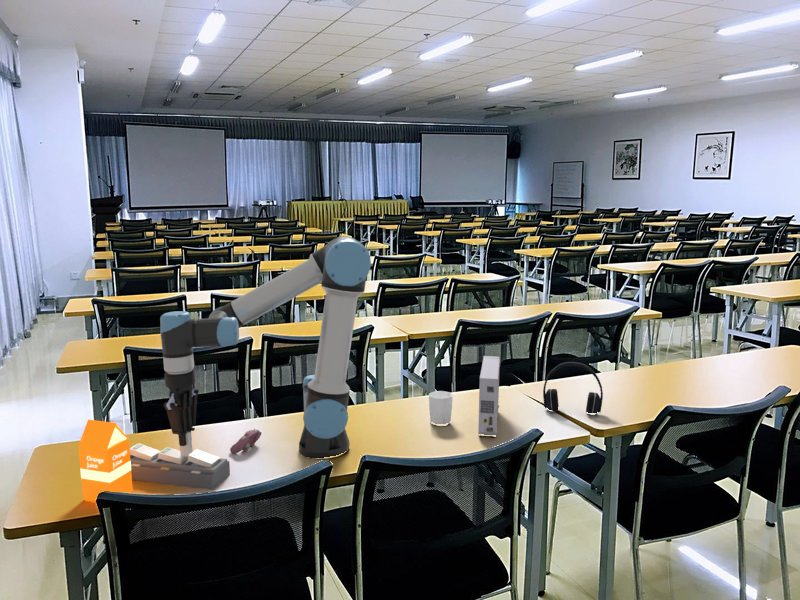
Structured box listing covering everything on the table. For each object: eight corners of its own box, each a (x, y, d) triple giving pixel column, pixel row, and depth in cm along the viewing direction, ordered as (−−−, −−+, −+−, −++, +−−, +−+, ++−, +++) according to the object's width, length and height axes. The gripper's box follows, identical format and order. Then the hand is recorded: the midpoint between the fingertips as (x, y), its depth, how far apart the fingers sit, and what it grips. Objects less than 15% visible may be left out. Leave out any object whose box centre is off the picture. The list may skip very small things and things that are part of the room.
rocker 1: (159, 456, 174) (160, 450, 174) (150, 462, 170) (151, 456, 170) (137, 448, 175) (138, 442, 175) (128, 453, 171) (129, 448, 171)
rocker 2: (189, 458, 172) (189, 452, 171) (180, 464, 168) (181, 458, 168) (166, 452, 173) (166, 446, 173) (157, 458, 169) (158, 452, 169)
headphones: (541, 413, 221) (543, 362, 218) (543, 407, 227) (545, 358, 224) (601, 419, 215) (604, 367, 212) (601, 412, 222) (604, 362, 219)
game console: (498, 411, 223) (500, 356, 220) (496, 440, 197) (498, 379, 193) (482, 410, 224) (483, 355, 221) (478, 439, 198) (479, 378, 194)
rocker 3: (218, 462, 170) (219, 457, 169) (210, 469, 166) (211, 463, 166) (195, 454, 171) (196, 448, 171) (187, 460, 167) (188, 454, 167)
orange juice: (105, 487, 165) (99, 414, 162) (133, 491, 163) (127, 417, 159) (82, 500, 158) (75, 424, 155) (111, 505, 155) (105, 428, 152)
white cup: (457, 424, 210) (457, 395, 208) (438, 429, 206) (438, 400, 204) (442, 417, 217) (442, 389, 215) (423, 422, 212) (424, 393, 211)
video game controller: (239, 460, 186) (248, 441, 183) (227, 452, 187) (236, 433, 184) (258, 447, 195) (266, 430, 193) (246, 439, 196) (254, 421, 194)
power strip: (230, 474, 172) (229, 457, 172) (212, 489, 164) (211, 471, 163) (140, 464, 179) (139, 447, 178) (119, 478, 170) (118, 460, 170)
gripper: (180, 363, 173) (187, 445, 176) (151, 376, 160) (159, 464, 164) (205, 364, 171) (211, 446, 175) (177, 378, 158) (185, 466, 162)
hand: (186, 455), depth 169 cm, fingers closed
